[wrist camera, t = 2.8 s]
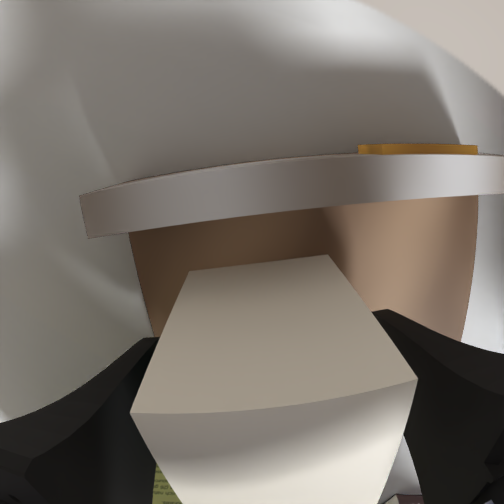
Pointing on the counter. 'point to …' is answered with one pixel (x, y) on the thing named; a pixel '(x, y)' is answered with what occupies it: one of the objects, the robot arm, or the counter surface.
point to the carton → (274, 389)
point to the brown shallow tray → (315, 223)
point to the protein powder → (406, 499)
